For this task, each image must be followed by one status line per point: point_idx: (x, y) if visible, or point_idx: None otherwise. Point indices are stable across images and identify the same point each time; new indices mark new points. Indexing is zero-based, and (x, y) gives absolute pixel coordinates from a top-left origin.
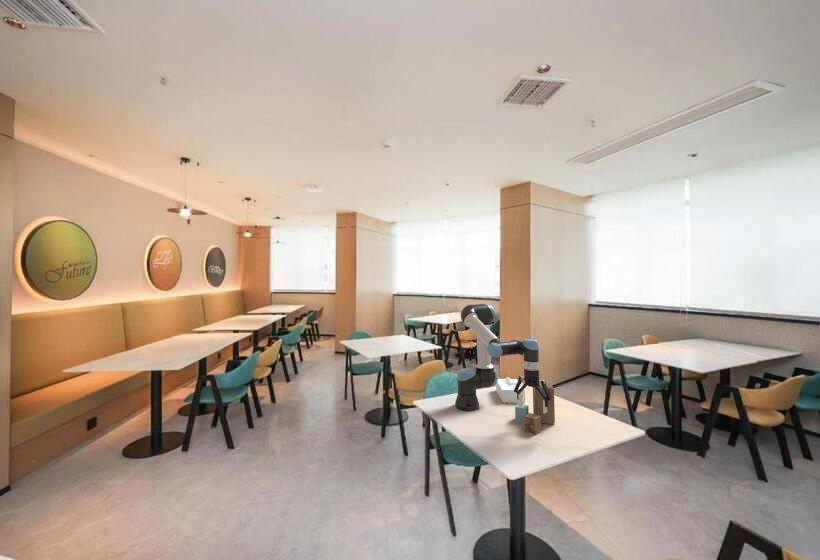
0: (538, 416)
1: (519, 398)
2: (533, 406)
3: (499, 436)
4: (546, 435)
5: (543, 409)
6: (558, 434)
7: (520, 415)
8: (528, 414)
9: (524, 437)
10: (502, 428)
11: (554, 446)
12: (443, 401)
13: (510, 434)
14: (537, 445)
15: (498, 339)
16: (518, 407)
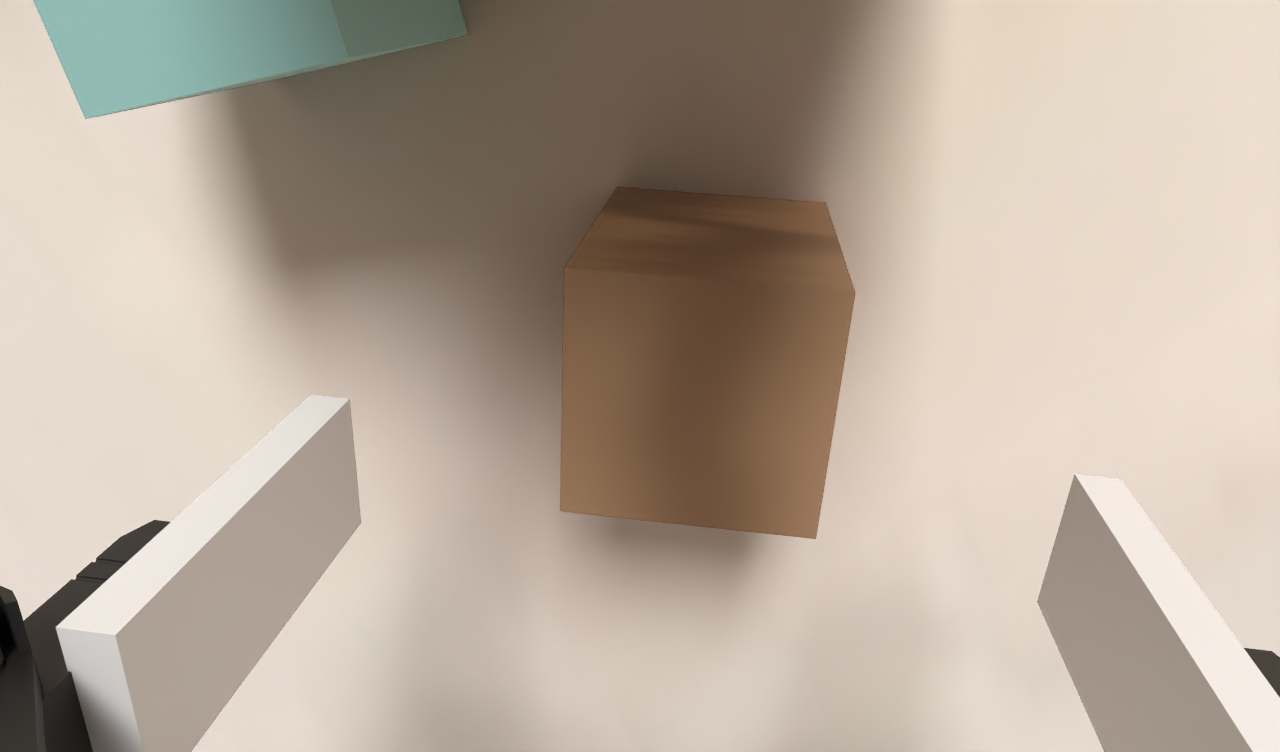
0: (820, 355)
1: (226, 684)
2: None
3: (442, 698)
4: (957, 308)
5: (1079, 676)
6: (1144, 130)
7: (305, 70)
8: (584, 380)
9: (699, 559)
10: None
11: None
12: None
13: (510, 583)
14: (930, 663)
15: None
16: (164, 99)
